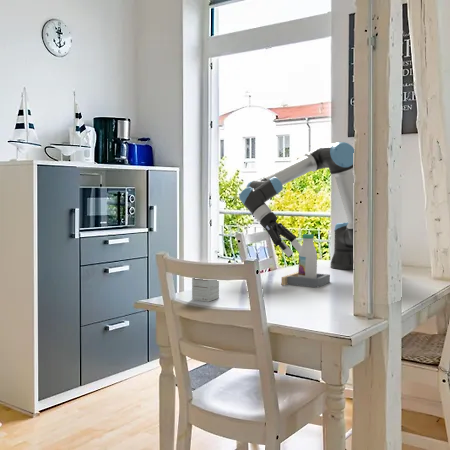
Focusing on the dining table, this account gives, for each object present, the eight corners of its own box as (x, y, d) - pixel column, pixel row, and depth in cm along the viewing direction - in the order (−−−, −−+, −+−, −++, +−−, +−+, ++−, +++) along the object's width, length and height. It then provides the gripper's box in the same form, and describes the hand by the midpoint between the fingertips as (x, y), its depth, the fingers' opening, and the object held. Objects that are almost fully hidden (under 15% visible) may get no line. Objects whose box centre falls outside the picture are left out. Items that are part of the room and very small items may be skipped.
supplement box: (202, 296, 207) (202, 262, 206) (219, 298, 203) (219, 264, 202) (191, 299, 200) (191, 264, 200) (208, 302, 197) (208, 266, 196)
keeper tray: (299, 278, 250) (299, 270, 250) (331, 281, 243) (331, 273, 242) (281, 284, 233) (281, 277, 232) (315, 288, 225) (315, 280, 225)
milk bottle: (315, 279, 241) (316, 233, 240) (317, 282, 234) (318, 235, 232) (297, 279, 242) (298, 233, 241) (298, 282, 235) (299, 235, 233)
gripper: (271, 221, 257) (301, 256, 251) (247, 224, 235) (279, 262, 229) (282, 210, 254) (312, 245, 248) (259, 212, 233) (291, 250, 226)
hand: (296, 253), depth 239 cm, fingers open, 13 cm apart
